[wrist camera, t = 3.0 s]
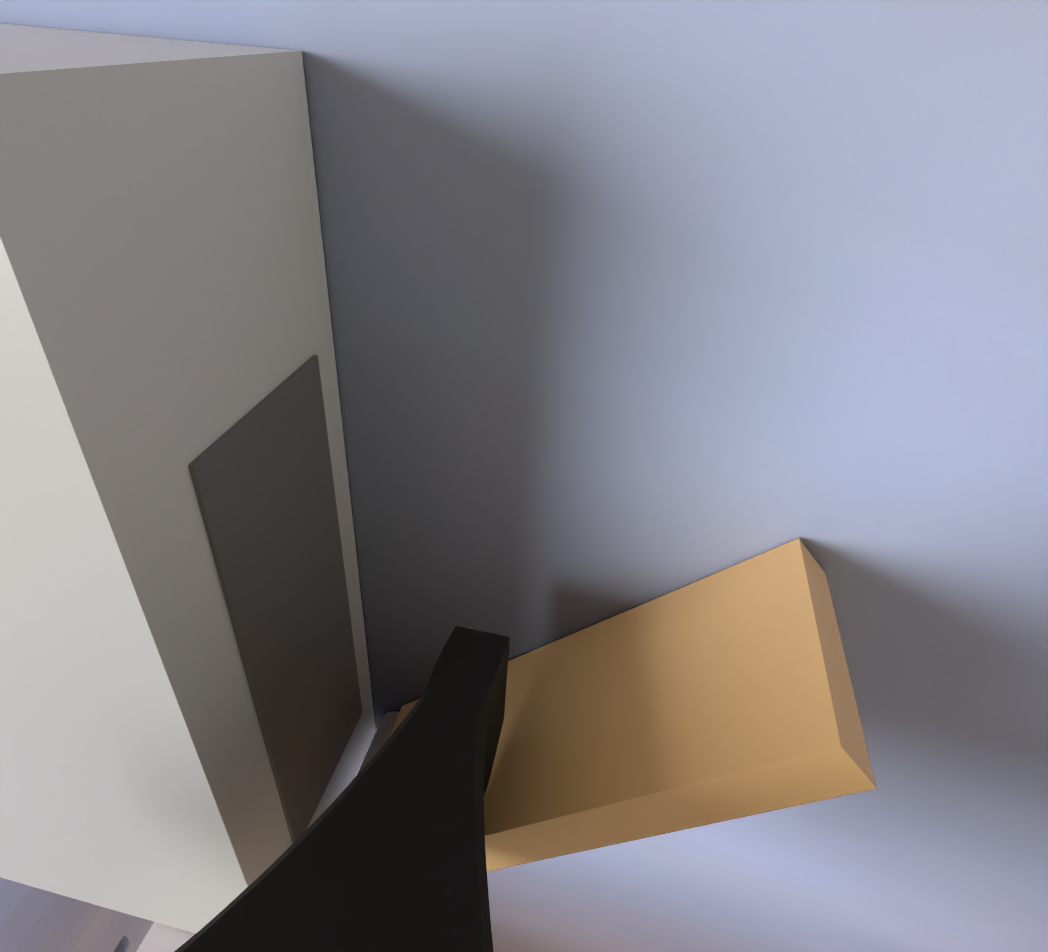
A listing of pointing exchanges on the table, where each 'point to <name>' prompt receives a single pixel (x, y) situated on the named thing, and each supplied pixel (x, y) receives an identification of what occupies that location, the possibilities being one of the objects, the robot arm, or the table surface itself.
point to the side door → (675, 716)
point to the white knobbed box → (167, 475)
